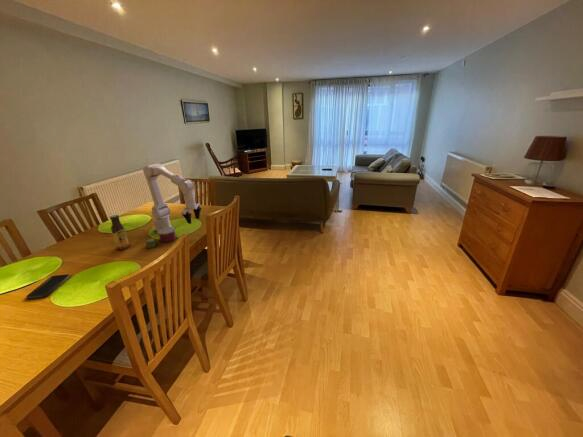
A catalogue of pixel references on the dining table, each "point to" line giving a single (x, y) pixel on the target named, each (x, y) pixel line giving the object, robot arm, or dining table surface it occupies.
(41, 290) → the phone
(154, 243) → the block
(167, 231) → the jar
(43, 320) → the dining table surface
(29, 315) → the dining table surface
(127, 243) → the sauce bottle
